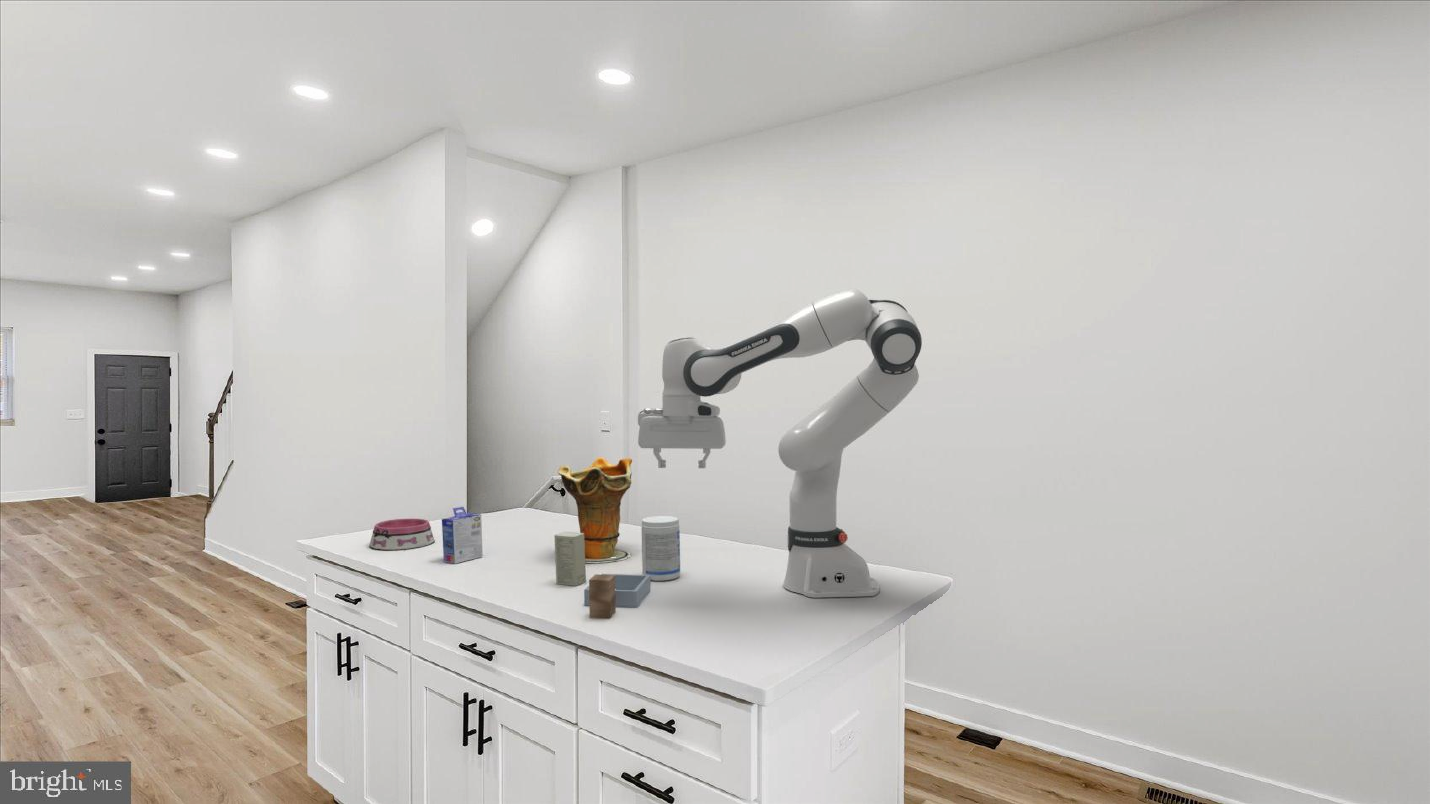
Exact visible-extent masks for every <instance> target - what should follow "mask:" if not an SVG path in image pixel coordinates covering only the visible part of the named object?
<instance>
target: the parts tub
mask: <svg viewBox="0 0 1430 804" xmlns="http://www.w3.org/2000/svg"><path fill="white" fill-rule="evenodd" d="M600 575H615V589H616V590H615V597H616V608H638V606H639V605H640V604H641V602H642V601H643V600H644V599H645V598H646V597H647V595H648V594H649V592H650V591H651V590H650V589H652V588H651V580H650V575H643V574H626V573H625V574H624V573H622V574H620V573H601V574H600ZM583 592H584V593H583V595H584V597H583V601H584V602H583V603H584V606H585V607H586V606H587V607H589V585H588V586H587V587H586V588H584V591H583Z"/></svg>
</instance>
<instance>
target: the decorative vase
mask: <svg viewBox="0 0 1430 804" xmlns="http://www.w3.org/2000/svg"><path fill="white" fill-rule="evenodd" d="M632 462H633V459H632V458H622V459H620V460H619V461H618V463H617V464H615V465H613V464H611V463H610V462H609V461H607V459H606V458H604V457H602V456H601V457H598V458H596V459H595V460H594V461H593V463H592V464H591V466H590V467H589V466H588V467H587V468H585V469H580V470H573V471H572V470H571V467H570V466H569V465H563V466H560V467H559V468H558V470H557V474H558V475H560V477H561V481H562V484H563V487H564V490H566V492H567V493H568V494H569V495H570V496H571V497H572V498H573V499H574V500H575V503H576V504H575V505H576V507H577V519H578V525H579V533H584V543H585V564H590V563H591V564H599V563H611V562H612V563H613V562H618V561H623V560H624V561H625V560H626V559H628V558H630V557H632V554H631V552H628V551H626V550H621V549H616V546H617V544H618V543H619V540H618V538H619V537H620V532H619V529H620V522H621V503H622V499H623V497H624V495H625V494H626V493H627V491H628V490H629V489H630V488H631V485H632V474H633V472H632V470H631V466H632V465H631V464H632ZM611 557H616V558H611ZM627 557H628V558H627Z"/></svg>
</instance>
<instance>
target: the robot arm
mask: <svg viewBox="0 0 1430 804" xmlns="http://www.w3.org/2000/svg"><path fill="white" fill-rule="evenodd" d="M857 340H858V341H859V340H860V341H865V342H866V344H867V346H868V348H869V349H870V350H871V354H872V356H873V359H872V361H871V362H870V364H868V366H867V367H866V368H864V370H862V371H861V372H860V373H859V374H857V375H856V377H855V378H853V379H852V380H851V381H850V382H849V383H848V384H847V385H845V386H844V387H843V388H842V389H841V390H839V391H838V392H837V393H836V394H835V395H834V396H833V397H832V398H830V399H829V400H828V401H826V402H824V403H823V404H822V405H820V406H819V407H818V408H817V409H815V410H813V411H812V412H811V413H810V414H808V415H807V416H806V417H804V418H803V419H802V420H800V421H799V422H798V423H797V424H796V425H794V426H793V427H792V428H791V429H789V430H787V432H786V433H785V434H784V435H782V437H781V438H780V441H779V443H778V448H777V449H778V451H777V452H778V455H779V456H778V457H779V458H780V461H781V463H782V464H784V466H785V467H786V468H788V469H790V470H791V471H795V473H794V479H793V484H792V487H791V490H790V492H789V526H788V527H787V528H788V529H787V532H786V533H787V536H786V539H787V541H786V542H787V550H788V558H787V559H788V560H787V565H786V572H785V576H784V581H783V584H782V587H783V588H784V589H786V590H787V591H790V592H794V593H798V594H802V595H804V596H805V597H808V598H814V599H815V598H850V597H853V598H854V597H855V598H856V597H857V598H858V597H875V596H876V595H878V594H879V593H880V585H879V582H878V580H876V579H875V578H873V577H871V574H870V569H869V566H868V564H867V562H866V559H864V558H863V557H862V556H861V555H860V554H859V553H857V551H855V550H854V549H852V548H851V547H849V546H848V544H846V542H847V541H848V534H847V533H846V531H844V530H843V529H842V528H839V527H838V526H837V495H838V494H837V493H838V488H839V487H838V485H839V479H840V472H841V466H842V465H841V464H842V455H843V452H844V449H845V448H847V447H848V446H849V445H850V444H852V443H853V442H854V441H856V440H857V439H859V438H860V437H862V436H863V435H865V434H866V433H867V432H868V431H870V430H871V429H872V428H873V427H874V426H875V425H876V424H877V423H879V422H880V421H882V420H883V419H884V418H885V417H886V416H887V415H889V413H890V412H891V411H893V410H894V409H895V408H896V407H897V406H898V405H899V404H900V403H902V402H903V400H904V399H905V398H906V397H907V396H908V395H909V394H910V393H911V391H912V390H913V389H914V388H915V387H916V386H917V384H918V381H919V377H920V376H919V375H920V374H919V371H918V368H917V366H916V361H917V359H918V357H919V356H920V353H921V350H922V344H923V341H922V340H923V339H922V334H921V332H920V330H919V328H918V326H917V323H916V321H915V319H914V317H913V316H912V315H911V314H910V313H909V312H908V311H907V309H906V308H905V307H904V306H903V305H902V304H900V303H899V302H896V301H895V300H890V299H889V300H888V299H869V298H868V297H867V296H866V295H865V294H864V293H863V292H862V291H860V290H858V289H847V290H843V291H838V292H836V293H832V294H829V295H827V296H823V297H822V298H819V299H816V300H815V301H813V302H810V303H809V304H808V303H807V304H806V305H804V306H802V307H800V308H798V309H797V310H795V311H793V312H792V313H790V314H789V315H787V316H786V317H785V318H782V319H781V320H780V321H778V322H777V323H775V324H773V325H772V326H770V327H769V328H767V329H765V330H764V331H762V332H760V333H757V334H755V335H753V336H750V337H748V338H746V339H743V340H741V341H739V342H736V343H734V344H732V345H729V346H726V347H723V348H719V349H714V348H712V347H709V346H707V345H705V344H703V342H700V340H698V339H697V338H694V337H684V338H683V337H682V338H677V339H673V340H670V341H668V343H667V344H665V347H664V349H663V355H662V367H661V369H662V371H661V376H662V382H663V390H662V408H644V409H643V410H641V411H639V413H638V414H637V424H638V426H639V428H638V429H639V430H638V436H637V437H638V439H637V444H638V446H639V447H640V448H641V449H652V450H653V451H652V452H653V456H654V457H655V458H656V460H657V462H658V463H657V464H658V465H657V466H658V469H665V468H666V466H667V464H666V463H667V462H666V460H667V459H663V458H662V456H661V454H660V453H661V452H662V449H683V450H684V449H685V450H686V449H687V450H688V449H689V450H690V449H694V450H695V449H696V450H697V449H702V453H703V454H704V456H703V457H702V459H699V460H698V469H706V467H707V460H708V458H709V456H710V455H711V450H716V449H717V450H720V449H721V450H722V448H724V447H725V445H726V443H727V442H726V431H725V425H724V421H723V419H722V418H721V417H720V416H719V415H720V414H721V410H720V407H719V406H718V405H715V404H711V403H708V402H705V401H702V400H701V397H704V398H705V397H706V398H707V397H711V396H715V395H721V394H727V393H730V392H731V391H733V390H734V389H735V388H737V387H738V385H739V383H740V381H741V378H742V374H743V373H744V372H747V371H750V370H753V369H754V368H757V367H759V366H761V365H764V364H766V363H768V362H771V361H772V362H773V361H775V360H778V359H790V358H795V359H796V358H799V359H800V358H806V357H810V356H811V357H812V356H814V355H818V354H822V353H824V352H827V351H829V350H831V349H835V348H836V347H838V346H840V345H842V344H844V343H847V342H850V341H857Z"/></svg>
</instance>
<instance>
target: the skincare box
mask: <svg viewBox="0 0 1430 804" xmlns="http://www.w3.org/2000/svg"><path fill="white" fill-rule="evenodd" d="M553 537H554V555H555V556H554V557H555V558H554V559H555V581H556V584H557V585H564V586H565V585H566V586H575V587H577V586H580V585H581V584H584V583H585V582H586V581H587V574H586V572H587V571H586V562H585V543H584V533H580V532H573V531H572V532H571V531H562V532H559V533H556V534H554V535H553Z"/></svg>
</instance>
